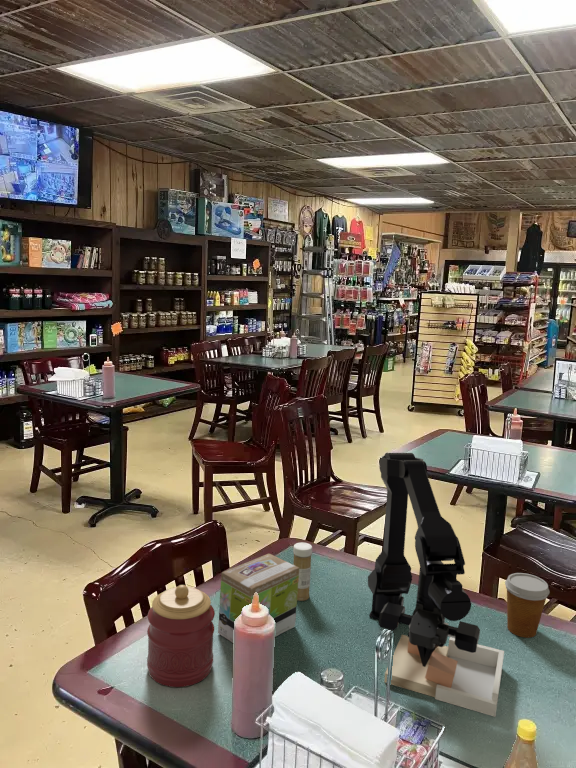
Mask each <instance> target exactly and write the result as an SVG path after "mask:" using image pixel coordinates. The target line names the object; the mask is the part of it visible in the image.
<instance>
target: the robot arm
mask: <svg viewBox="0 0 576 768" xmlns="http://www.w3.org/2000/svg"><path fill="white" fill-rule="evenodd" d="M378 467H379V471H380V478H381V480H382V482H383V484H384V485H385V487H386V505H385V521H384V531H383V532H384V535H383V548H382V550H381V552H380V553H379V554H378V556H377V558H376V559H375V564H374V569H372V571H371V572H370V573H369V575H368V576H367V587H368V588H369V591H370V592H371V594H372V600H371V611H370V612H369V614H368V615H369V617H370V618H373V619H376V620H378V626H379V627H380V628H382V629H386V630H389V631H395V630H397V629H398V627H399V624H402V625H406V626H408V628H409V629H408V633H407V636H408V638H409V642H410V643H411V644H413V645H417V647H418V650H419V654H420V658H421V662H422V666H423V667H426V665H427V663H428V661H429V659H430V657H431V655H432V653H433V651H434V650H435V649H436V648H437V647H443V646H445V645H446V644H447V640H448V637H449V638H450V637H452V638H455V645H456V647H457V648H458V649H460V650H464V651H468V652H471V653H474V652H476V649H477V645H478V644H479V639H480V634H481V628H480V627H479V626H478V625H476V624H473V623H469V622H465V621H461V620H463V619H464V618H465V617H466V616H467V615H468V614H469V613H470V611H471V607H472V602H471V598H470V596H469V595H468V593H467V592H466V591H465V590H464V589H463V584H462V582H460V581H459V580H458V579H457V577H458V576H459V575H465V573H466V572H465V567H464V566H465V565H466V562H465V557H464V554H463V550H462V546H461V543H460V540H459V537H458V536H457V535H456V533H455V530H454V528H453V525H452V524H451V523H450V522H448V521H447V519H445V518H444V517H443V515H441V512H440V509H439V505H438V503H437V500H436V498H435V494H434V491H433V489H432V486H431V483H430V480H429V476H428V466H427V463H426V461H424V459H423V458H421V457H420V458H419V457H416V456H415V454H414V453H413V452H386V453H384V455H382V457H381V458H380V459H379V466H378ZM409 499H410V500H409ZM408 501H409V502H410V504H411V507H412V510H413V514H414V517H415V518H414V519H416V520H415V521H416V524H417V529H416V532H415V535H414V546H415V553H416V557H417V560H418V564H419V572H418V582H417V591H416V602H415V603H416V604H415V608H414V610H413V612H412V614H408V613H405V612H406V607H405V606H404V604H405V602H404V601H405V597H404V596H403V595H408V594H409V591H410V589H411V585H412V581H413V574H412V567H411V565H410V564H409V561H408V560H407V558H406V556H405V542H406V529H407V515H408ZM449 561H450V562H451V561H453V562H454V563H444V562H449ZM402 594H403V595H402ZM446 620H448V621H451V622H457V621H459V622H458V626H457V627H456V626H452V625H449V623H448V622H445V621H446Z"/></svg>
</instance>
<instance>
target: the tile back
mask: <svg viewBox="0 0 576 768" xmlns="http://www.w3.org/2000/svg"><path fill="white" fill-rule="evenodd" d="M434 651H435V650H434ZM408 653H412V654H416V655H419V656H420V654H419V650H418V647H417V645H413V644H411V643H410V642H408ZM430 659H431V657H430Z"/></svg>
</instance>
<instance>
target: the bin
mask: <svg viewBox="0 0 576 768" xmlns="http://www.w3.org/2000/svg"><path fill="white" fill-rule="evenodd" d="M447 647H448V656H447V657H449V658H451V659H454V660H456V661H458V662H457V666H456V671H455V675H454V679H453V682H452V686H451V688H449V687H445V686H442V685H440V684H439V685H438V684H437V686H436V695H435V697H434V699H435V700H436V701H441V702H444V703H448V704H450V705H453V706H454V705H455V706H457V707H461V708H464V709H468V710H471V711H473V712H478V713H479V714H484V715H488V716H492V717H494V718H496V716H497V708H498V701H499V693H500V687H501V681H502V680H501V679H502V673H503V663H504V656H505V650H501V649H498V648H494V647H490V646H487V645H486V646H485V645H483V644H479V643H478V645H477V649H476V652H474V653H471V652H468V651H464V650H460V649H458V648H457V647H456V645H455V638H452V637H449V639H448V646H447Z"/></svg>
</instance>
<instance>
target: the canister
mask: <svg viewBox="0 0 576 768" xmlns="http://www.w3.org/2000/svg"><path fill="white" fill-rule="evenodd" d="M151 603H152V604H151V607H150V608H149V610H148V613H147V621H148V622H149V625H148V628H147V637H148V639H147V641H148V643H147V657H146V661H147V663H146V666H147V669H148V670H147V671H148V674H149V676H150V678H151V679H152V680H153V681H154V682H156V683H158V684H159V685H163V686H166V687H171V688H183V687H189V686H192V685H196V684H198V683H200V682H202V681H203V680H204V679H206V678H207V677H208V675H209V674H210V673H211V671H212V668H213V663H214V652H213V650H214V647H213V646H214V633H215V625H214V622H213V620H214V619H215V614H216V613H215V612H216V611H215V608H214V606H212V602H211V598H210V597H209V595H208V594H207V593H205V592H204V591H202V590H199V589H198V588H195V587H192V586H188V585H185V584H179V585H178V586H173V587H170V588H169V589H168V588H167V589H166V590H164V591H163V592H161V593H159V594H157V595H156V596H155V597H154V598H153V600H152V602H151Z"/></svg>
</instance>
